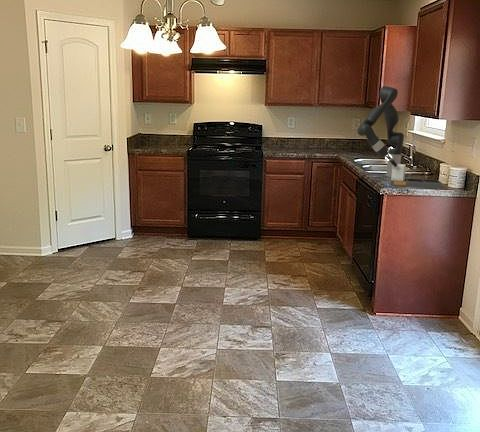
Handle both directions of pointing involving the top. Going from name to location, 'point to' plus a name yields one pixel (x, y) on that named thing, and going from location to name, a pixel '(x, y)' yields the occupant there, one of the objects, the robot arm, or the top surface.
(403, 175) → the small box
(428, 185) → the rack
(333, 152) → the top surface
